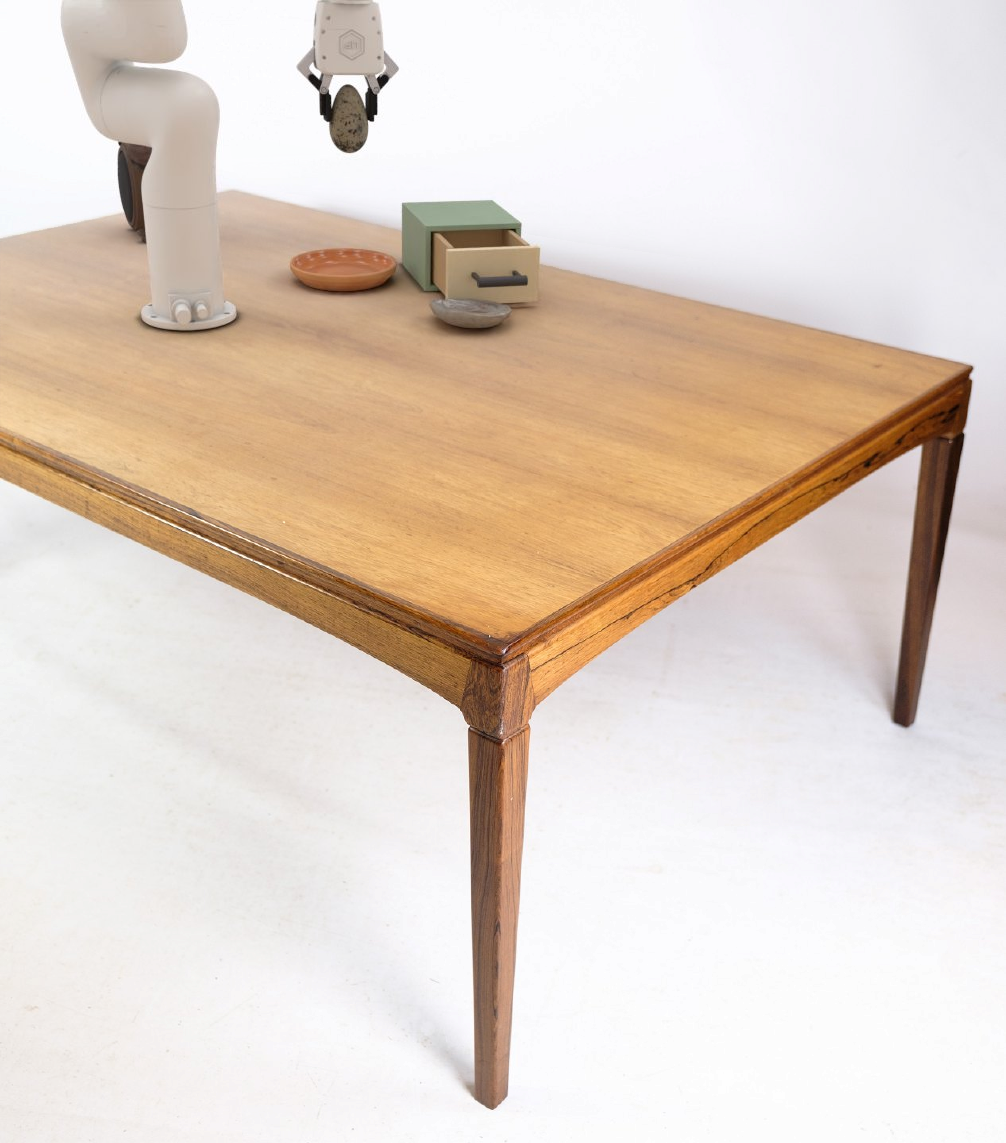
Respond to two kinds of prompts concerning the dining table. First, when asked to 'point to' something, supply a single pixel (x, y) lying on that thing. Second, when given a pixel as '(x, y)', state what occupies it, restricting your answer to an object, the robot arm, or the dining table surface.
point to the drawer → (485, 265)
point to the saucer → (343, 268)
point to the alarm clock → (132, 182)
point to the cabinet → (445, 229)
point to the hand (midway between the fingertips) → (348, 119)
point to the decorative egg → (348, 120)
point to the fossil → (470, 312)
